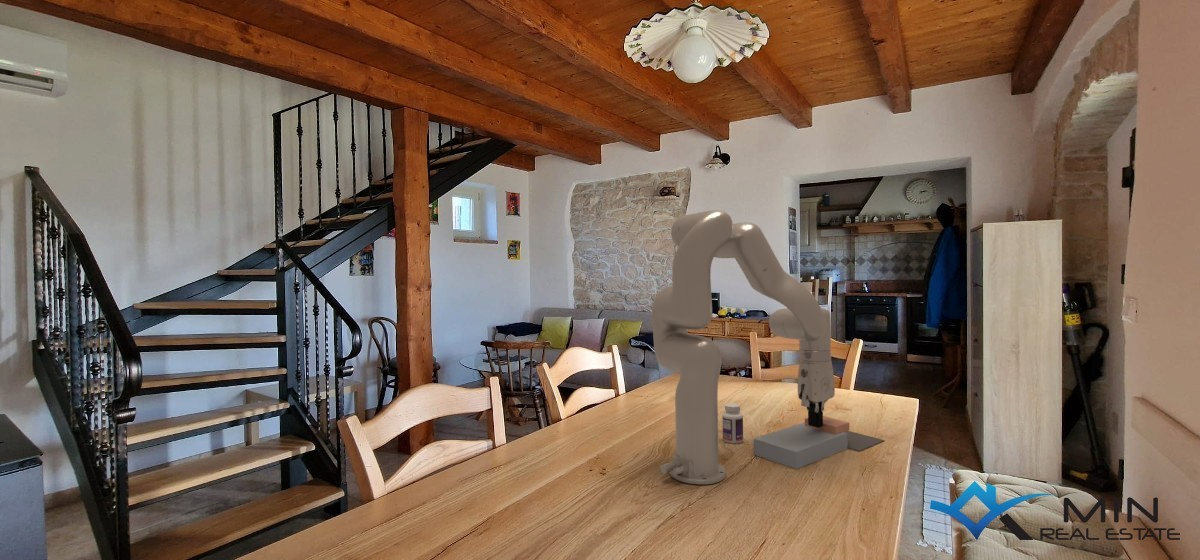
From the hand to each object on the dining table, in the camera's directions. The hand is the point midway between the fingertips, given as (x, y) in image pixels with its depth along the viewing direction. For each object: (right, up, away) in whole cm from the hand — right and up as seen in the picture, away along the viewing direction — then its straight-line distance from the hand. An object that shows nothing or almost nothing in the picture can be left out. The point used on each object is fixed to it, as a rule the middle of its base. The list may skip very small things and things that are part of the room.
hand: (815, 425), depth 134 cm
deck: (-5, -6, -4) cm, 8 cm away
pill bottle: (-20, -6, +6) cm, 22 cm away
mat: (+10, -5, +5) cm, 12 cm away
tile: (+4, -1, +2) cm, 5 cm away
